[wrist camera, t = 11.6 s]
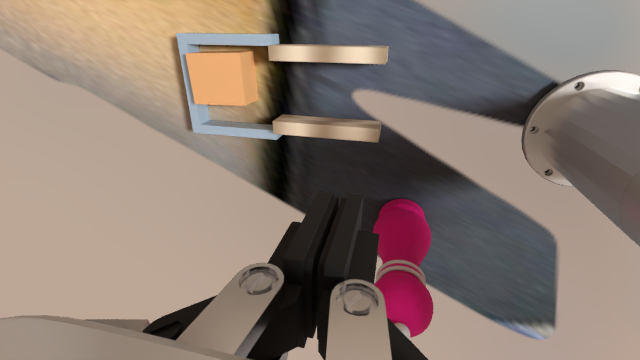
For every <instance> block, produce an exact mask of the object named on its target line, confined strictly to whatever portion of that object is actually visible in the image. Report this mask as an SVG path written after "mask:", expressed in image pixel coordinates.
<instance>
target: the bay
mask: <svg viewBox="0 0 640 360" xmlns="http://www.w3.org/2000/svg"><path fill="white" fill-rule="evenodd" d="M176 36H177V42H178V48H179V53H180V59H181V65H182V70H183V76H184V82H185V87H186V93H187V99H188V105H189V110H190V116H191V122H192V127H193V133H204V134H216V135H227V136H239V137H250V138H262V139H274V140H277V139H278V138H279V137H281V136H282V135H281V134H273V125H269V124H256V123H243V122H229V121H216V120H210V118H209V111H208V105H206V104H195V102H194V96H193V91H192V86H191V81H190V75H189V70H188V65H187V60H186V54H185V53H194V52H200V51H199V45H251V46H268V45H275V44H279V34H229V33H176Z"/></svg>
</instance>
